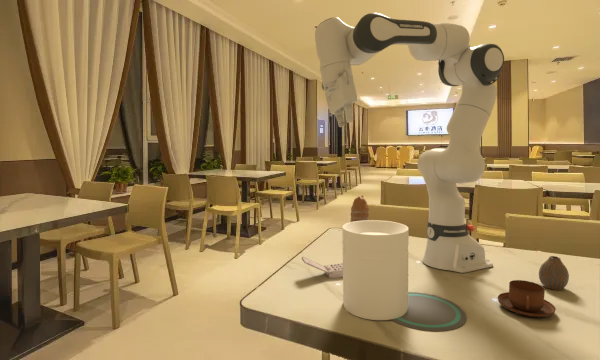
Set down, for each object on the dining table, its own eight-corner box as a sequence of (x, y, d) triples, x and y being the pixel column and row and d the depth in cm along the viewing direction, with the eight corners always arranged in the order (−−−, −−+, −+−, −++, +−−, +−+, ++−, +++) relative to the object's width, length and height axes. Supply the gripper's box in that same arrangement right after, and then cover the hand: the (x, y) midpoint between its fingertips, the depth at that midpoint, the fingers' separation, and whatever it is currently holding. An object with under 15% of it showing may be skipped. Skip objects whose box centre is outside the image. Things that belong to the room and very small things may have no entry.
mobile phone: (300, 256, 111) (374, 250, 116) (300, 274, 111) (374, 267, 117) (305, 263, 105) (383, 256, 111) (305, 282, 106) (382, 274, 111)
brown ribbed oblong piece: (364, 239, 152) (365, 197, 150) (347, 236, 156) (347, 196, 154) (371, 234, 159) (372, 195, 157) (354, 232, 163) (355, 193, 161)
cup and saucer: (565, 324, 81) (568, 297, 80) (508, 319, 83) (510, 294, 82) (539, 300, 92) (541, 278, 92) (490, 297, 94) (491, 275, 94)
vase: (559, 294, 96) (561, 262, 95) (532, 285, 102) (534, 255, 101) (572, 289, 99) (575, 258, 98) (546, 281, 105) (548, 252, 104)
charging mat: (416, 279, 107) (416, 271, 107) (486, 324, 80) (486, 314, 80) (354, 285, 102) (354, 277, 102) (406, 336, 75) (407, 325, 75)
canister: (356, 287, 100) (356, 218, 98) (414, 298, 92) (415, 223, 90) (332, 311, 87) (331, 230, 85) (398, 326, 79) (398, 238, 77)
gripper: (357, 64, 92) (366, 117, 93) (340, 83, 113) (347, 126, 113) (333, 68, 92) (343, 121, 92) (320, 87, 112) (328, 130, 113)
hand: (345, 124), depth 103 cm, fingers open, 8 cm apart
